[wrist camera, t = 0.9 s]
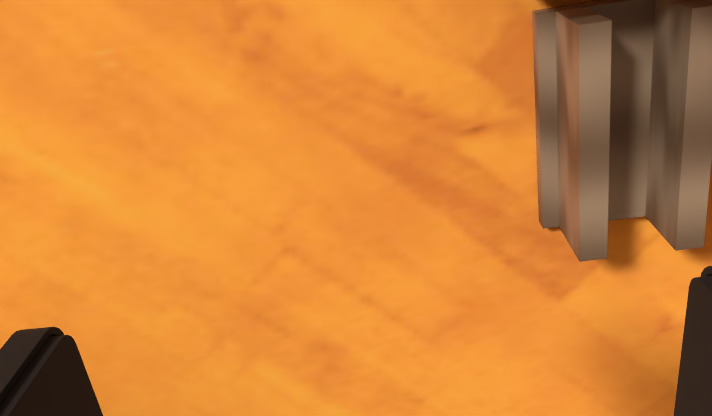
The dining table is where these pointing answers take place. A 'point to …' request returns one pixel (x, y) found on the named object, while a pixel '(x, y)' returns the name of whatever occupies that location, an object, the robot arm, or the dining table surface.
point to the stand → (624, 119)
